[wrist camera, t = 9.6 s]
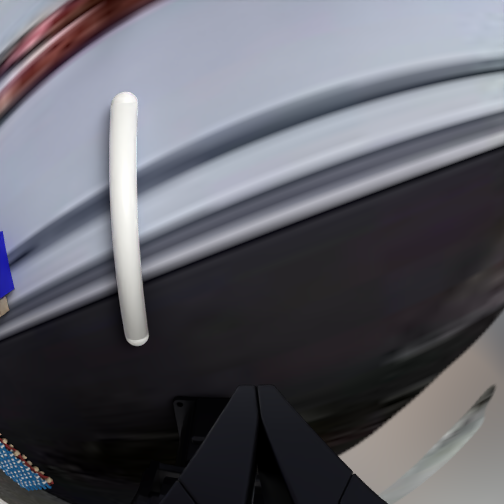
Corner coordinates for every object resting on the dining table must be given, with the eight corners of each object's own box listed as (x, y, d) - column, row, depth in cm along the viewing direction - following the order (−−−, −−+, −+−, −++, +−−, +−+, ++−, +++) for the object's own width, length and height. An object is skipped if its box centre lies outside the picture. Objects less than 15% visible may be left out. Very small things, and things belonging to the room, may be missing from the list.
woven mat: (-2, 426, 24) (-9, 435, 22) (57, 479, 27) (53, 489, 25) (-21, 437, 25) (-27, 445, 23) (29, 483, 28) (25, 491, 26)
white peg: (152, 338, 20) (146, 351, 18) (130, 337, 20) (123, 349, 18) (142, 93, 16) (133, 87, 14) (117, 96, 16) (107, 91, 14)
